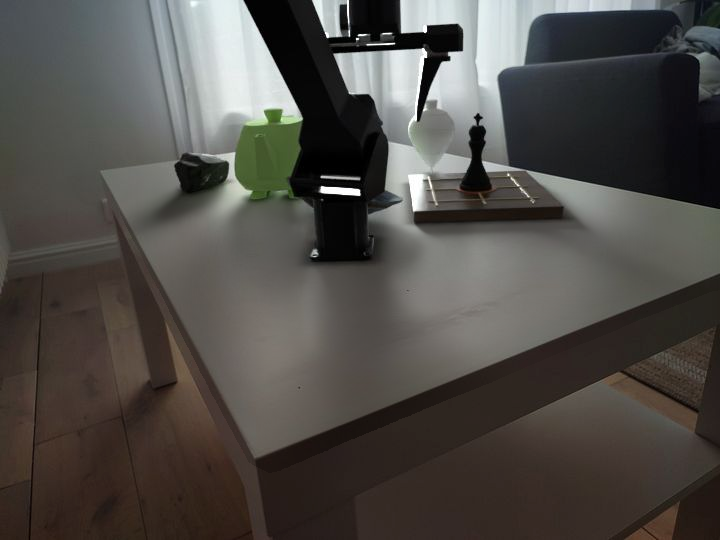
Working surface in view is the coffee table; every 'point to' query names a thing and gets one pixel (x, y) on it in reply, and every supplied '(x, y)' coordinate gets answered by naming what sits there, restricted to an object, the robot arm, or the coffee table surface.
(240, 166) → the teapot
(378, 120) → the robot arm
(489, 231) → the coffee table surface
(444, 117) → the spinning top
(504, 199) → the board
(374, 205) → the seashell
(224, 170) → the rock
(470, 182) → the chess piece
